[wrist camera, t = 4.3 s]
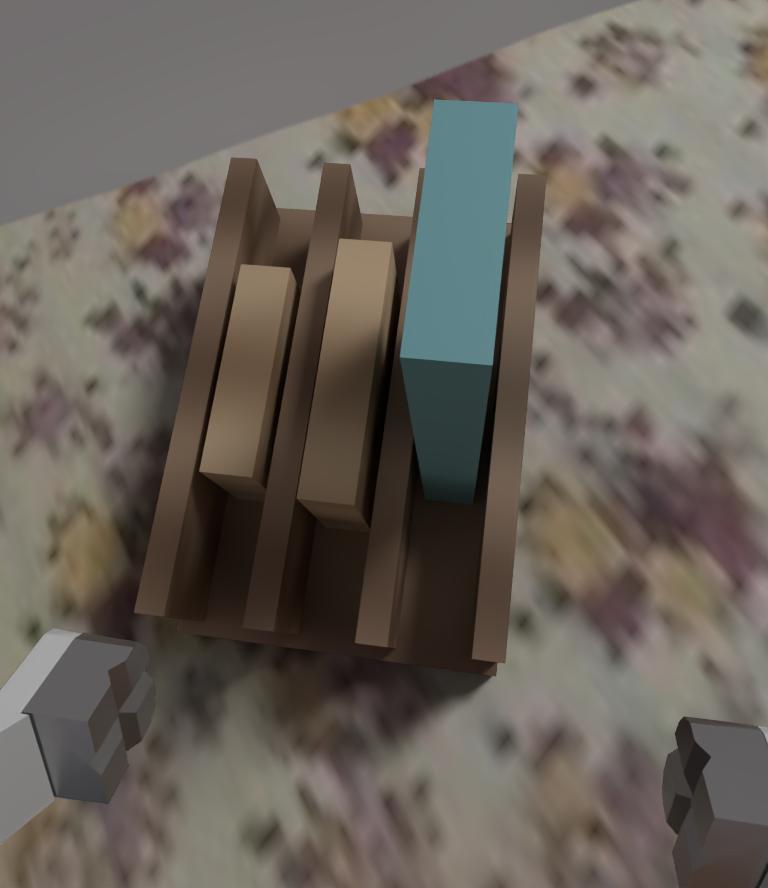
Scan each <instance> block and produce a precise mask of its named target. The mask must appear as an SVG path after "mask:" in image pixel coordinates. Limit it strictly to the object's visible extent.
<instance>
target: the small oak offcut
mask: <svg viewBox="0 0 768 888" xmlns="http://www.w3.org/2000/svg"><path fill="white" fill-rule="evenodd" d="M300 296H301V292H300V290H299V287H298V285H297V282H296V280H295V278H294V275H293V273H292V271H291V268H285V267H272V266H259V265H245V264H241V266H240V271H239V276H238V281H237V286H236V291H235V296H234V301H233V306H232V311H231V316H230V321H229V326H228V331H227V336H226V341H225V346H224V351H223V356H222V361H221V366H220V371H219V376H218V381H217V386H216V391H215V396H214V401H213V406H212V411H211V416H210V420H209V425H208V430H207V435H206V440H205V445H204V450H203V455H202V460H201V465H200V470H199V472H200V473H202V474H203V475H205V476H206V477H208V478H209V479H210V480H212V481H213V482H215V483H216V484H217V485H219V486H220V487H222V488H223V489H224V490H226V491H227V492H229V493H230V494H231V495H233V496H234V497H236V498H237V499H243V500H252V501H260V502H264V501H265V496H266V490H267V484H268V479H269V473H270V467H271V461H272V456H273V450H274V444H275V439H276V433H277V427H278V422H279V416H280V410H281V405H282V399H283V393H284V387H285V382H286V376H287V370H288V365H289V359H290V353H291V348H292V342H293V336H294V331H295V325H296V319H297V314H298V308H299V302H300Z"/></svg>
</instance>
